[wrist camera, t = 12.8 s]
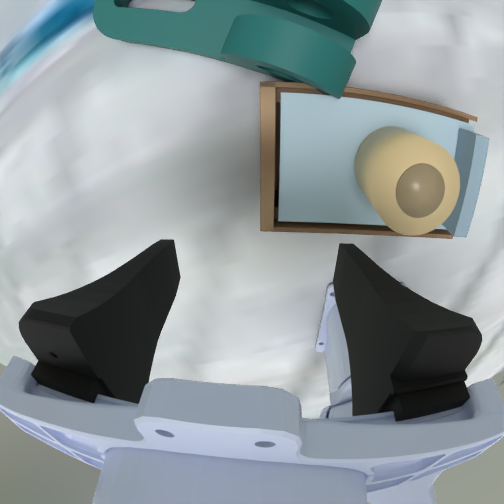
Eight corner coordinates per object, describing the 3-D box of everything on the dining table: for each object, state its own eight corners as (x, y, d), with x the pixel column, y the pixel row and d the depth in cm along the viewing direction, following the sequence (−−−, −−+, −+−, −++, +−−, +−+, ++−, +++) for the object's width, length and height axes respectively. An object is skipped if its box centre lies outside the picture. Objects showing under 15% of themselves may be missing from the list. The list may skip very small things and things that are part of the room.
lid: (448, 225, 18) (466, 243, 15) (278, 216, 18) (278, 236, 16) (468, 123, 14) (492, 131, 11) (280, 92, 14) (282, 92, 12)
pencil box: (425, 211, 21) (452, 238, 17) (262, 202, 22) (260, 231, 18) (442, 108, 17) (477, 117, 12) (262, 83, 17) (260, 81, 13)
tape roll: (417, 208, 17) (445, 241, 13) (347, 199, 17) (365, 232, 13) (433, 135, 14) (470, 154, 10) (360, 119, 14) (385, 131, 11)
